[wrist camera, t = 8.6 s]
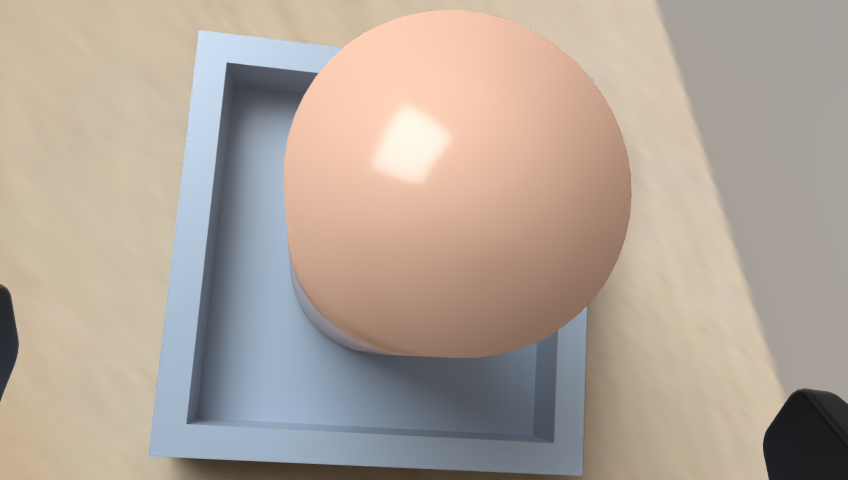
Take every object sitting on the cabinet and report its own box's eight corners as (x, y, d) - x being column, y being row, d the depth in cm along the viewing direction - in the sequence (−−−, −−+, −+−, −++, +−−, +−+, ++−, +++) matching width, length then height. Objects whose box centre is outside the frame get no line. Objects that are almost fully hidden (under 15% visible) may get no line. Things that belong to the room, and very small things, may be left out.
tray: (552, 462, 22) (582, 476, 20) (167, 444, 21) (148, 456, 18) (565, 106, 24) (594, 78, 22) (210, 65, 23) (199, 30, 20)
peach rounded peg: (464, 359, 22) (628, 368, 11) (282, 349, 21) (267, 346, 10) (473, 184, 23) (634, 33, 12) (298, 167, 22) (300, -12, 11)
